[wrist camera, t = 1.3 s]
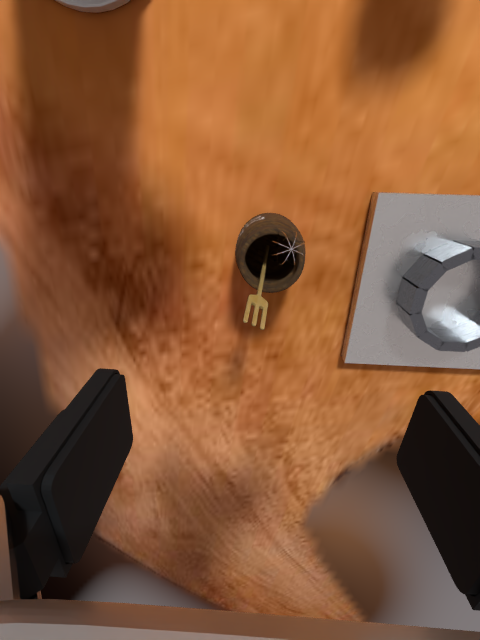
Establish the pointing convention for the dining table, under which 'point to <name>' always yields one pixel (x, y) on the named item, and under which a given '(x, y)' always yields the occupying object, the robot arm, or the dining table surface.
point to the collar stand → (417, 283)
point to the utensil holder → (268, 258)
